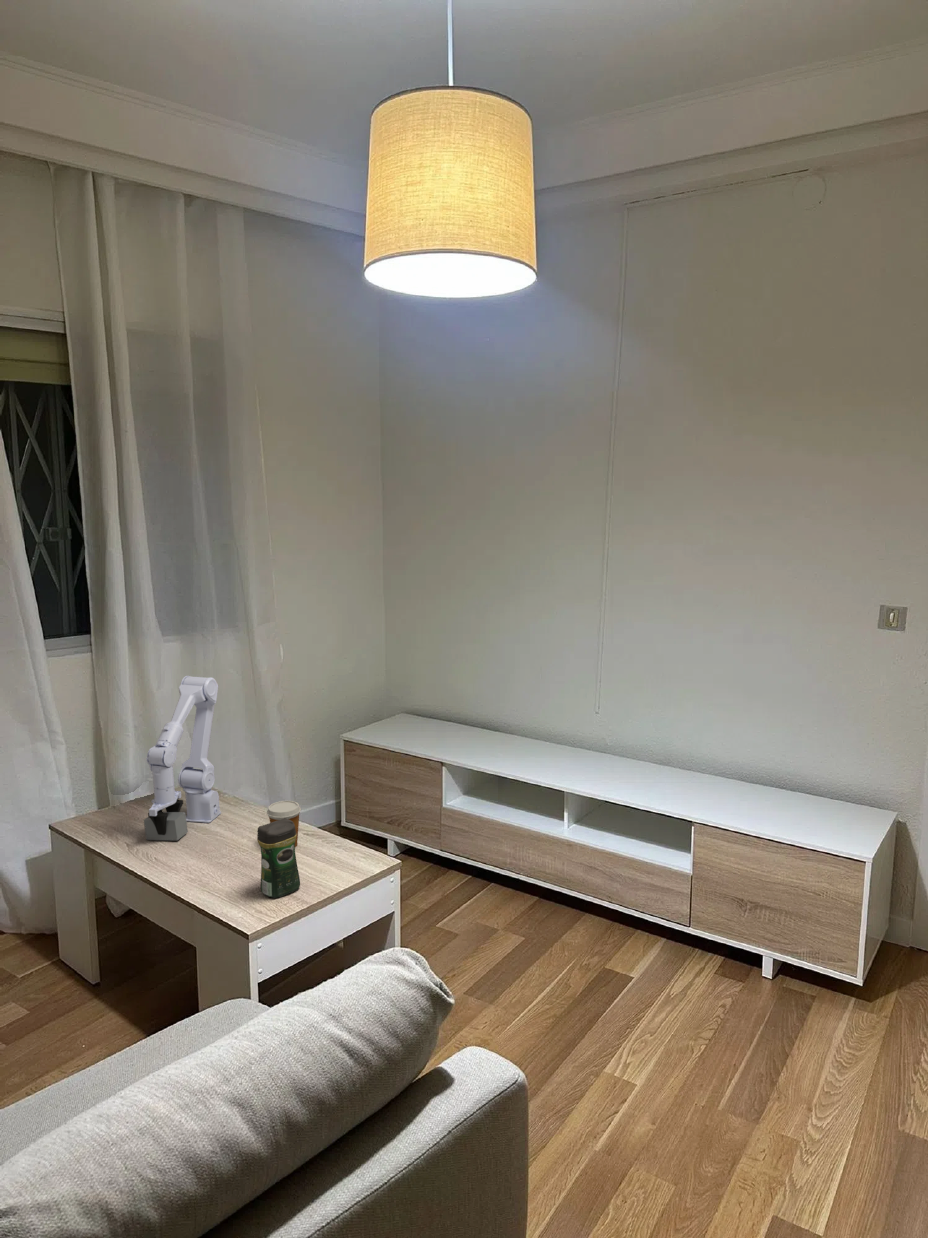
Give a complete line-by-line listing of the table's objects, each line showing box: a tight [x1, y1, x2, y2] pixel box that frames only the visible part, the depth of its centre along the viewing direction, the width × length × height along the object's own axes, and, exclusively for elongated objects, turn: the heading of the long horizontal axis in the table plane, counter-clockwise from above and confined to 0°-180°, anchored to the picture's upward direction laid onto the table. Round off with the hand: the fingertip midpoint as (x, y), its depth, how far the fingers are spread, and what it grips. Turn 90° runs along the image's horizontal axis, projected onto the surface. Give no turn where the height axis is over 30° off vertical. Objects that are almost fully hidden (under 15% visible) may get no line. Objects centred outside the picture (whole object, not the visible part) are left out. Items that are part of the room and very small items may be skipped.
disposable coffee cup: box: [266, 800, 302, 848], centre depth 254 cm, size 10×10×12 cm
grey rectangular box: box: [143, 811, 189, 841], centre depth 262 cm, size 10×6×6 cm, turn 78°
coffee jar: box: [256, 818, 301, 899], centre depth 228 cm, size 10×8×19 cm
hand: (167, 829), depth 262 cm, fingers closed on grey rectangular box, 6 cm apart
